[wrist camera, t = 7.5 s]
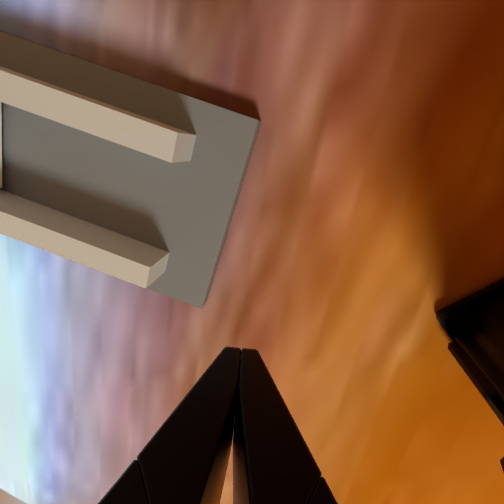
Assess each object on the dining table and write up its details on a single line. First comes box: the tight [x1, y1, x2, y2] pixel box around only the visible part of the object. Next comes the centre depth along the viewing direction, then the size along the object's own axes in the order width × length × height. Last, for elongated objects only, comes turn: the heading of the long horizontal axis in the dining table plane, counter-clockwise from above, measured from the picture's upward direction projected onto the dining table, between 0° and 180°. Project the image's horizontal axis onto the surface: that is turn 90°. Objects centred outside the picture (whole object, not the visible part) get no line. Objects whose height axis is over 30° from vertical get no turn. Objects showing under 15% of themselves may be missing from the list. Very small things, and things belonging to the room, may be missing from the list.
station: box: [0, 31, 261, 309], centre depth 16 cm, size 20×12×6 cm, turn 72°
